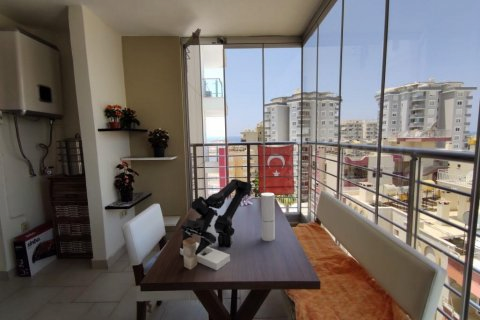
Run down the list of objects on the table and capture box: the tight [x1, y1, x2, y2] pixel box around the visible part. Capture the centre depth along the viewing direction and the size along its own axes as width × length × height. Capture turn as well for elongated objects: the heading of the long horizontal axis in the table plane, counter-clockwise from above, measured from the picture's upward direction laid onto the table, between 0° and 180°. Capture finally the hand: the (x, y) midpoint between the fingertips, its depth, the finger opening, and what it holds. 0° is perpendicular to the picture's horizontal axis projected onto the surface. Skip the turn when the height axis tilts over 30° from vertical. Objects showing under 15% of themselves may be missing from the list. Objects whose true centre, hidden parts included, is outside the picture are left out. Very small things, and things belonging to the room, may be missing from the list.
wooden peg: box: [183, 237, 198, 270], centre depth 103 cm, size 4×4×12 cm
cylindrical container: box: [260, 192, 276, 242], centre depth 127 cm, size 7×7×25 cm
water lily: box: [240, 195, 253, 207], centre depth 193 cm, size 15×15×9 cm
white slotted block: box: [179, 241, 231, 271], centre depth 110 cm, size 9×24×3 cm, turn 53°
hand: (188, 251), depth 102 cm, fingers open, 9 cm apart
